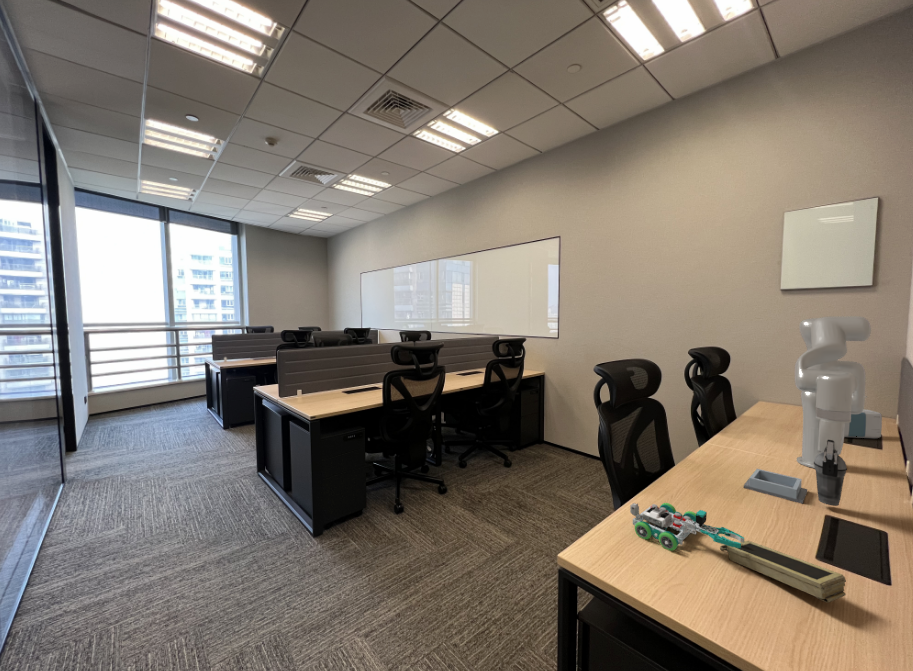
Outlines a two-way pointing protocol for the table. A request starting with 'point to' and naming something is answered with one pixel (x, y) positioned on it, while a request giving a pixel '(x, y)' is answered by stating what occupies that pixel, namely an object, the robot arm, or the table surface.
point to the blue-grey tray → (777, 485)
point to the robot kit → (677, 526)
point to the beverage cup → (829, 481)
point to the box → (789, 570)
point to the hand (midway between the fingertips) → (830, 471)
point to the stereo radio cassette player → (864, 425)
